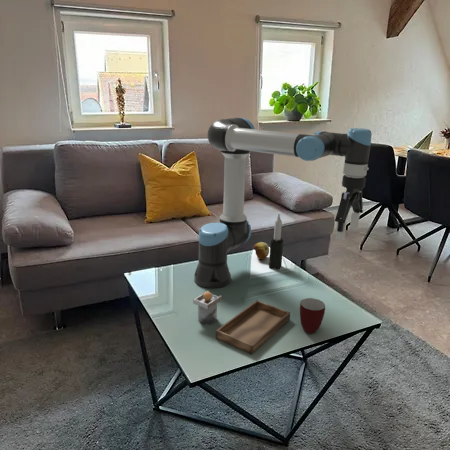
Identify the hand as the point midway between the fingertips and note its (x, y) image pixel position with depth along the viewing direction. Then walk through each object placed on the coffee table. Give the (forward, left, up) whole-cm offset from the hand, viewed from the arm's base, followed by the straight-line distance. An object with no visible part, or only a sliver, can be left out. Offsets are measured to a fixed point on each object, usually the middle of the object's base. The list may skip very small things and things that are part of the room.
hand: (346, 234), depth 147 cm
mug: (-1, -21, -28) cm, 35 cm away
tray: (-16, -33, -28) cm, 46 cm away
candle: (-35, +15, -28) cm, 47 cm away
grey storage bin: (-32, -38, -28) cm, 57 cm away
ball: (-32, -38, -20) cm, 54 cm away
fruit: (-45, +19, -28) cm, 56 cm away
